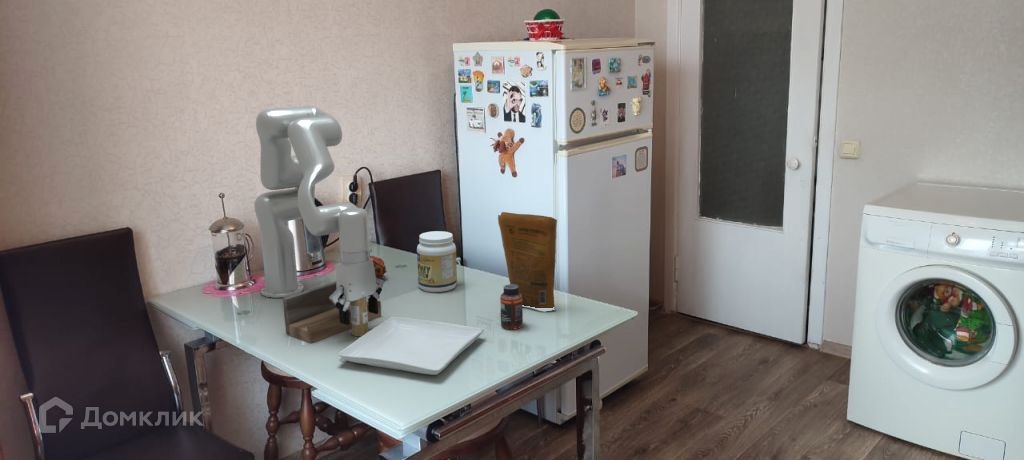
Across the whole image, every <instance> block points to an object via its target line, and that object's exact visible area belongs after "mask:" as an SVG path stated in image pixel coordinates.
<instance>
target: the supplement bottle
mask: <svg viewBox="0 0 1024 460" xmlns="http://www.w3.org/2000/svg"><path fill="white" fill-rule="evenodd" d="M518 291H519V290H518V286H517V285H514V284H510V283H508V284H505V285H504V286H503V292H502V293H501V294H500V297H499V301H500V304H499V305H500V326H501V327H502V328H503V329H505V328H508V329H507V330H515V329H514V328H518V329H520V328H522V326H523V324H524V321H523V320H524V319H523V318H524V317H523V315H524V314H523V307H522V295H521V294H520V293H519V292H518ZM519 327H520V328H519Z"/></svg>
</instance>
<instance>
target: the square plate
mask: <svg viewBox="0 0 1024 460" xmlns="http://www.w3.org/2000/svg"><path fill="white" fill-rule="evenodd" d="M484 331H485V330H484V328H481V327H480V328H479V327H475V326H468V325H467V326H466V325H461V324H456V323H455V324H454V323H448V322H442V321H435V320H427V319H419V318H413V317H412V318H410V317H400V316H390V317H389V318H387V319H385V320H384V321H383V322H381V323H380V324H378V325H376V326H375V327H373V328H372V329H371V330H369V332H367V333H366V334H365V335H363V336H359V338H358V339H356V340H355V341H353V342H352V343H350V344H349V345H348V346H347V347H345V348H344V349H342V350H341V351H340V352H338V353H337V356H338V357H340V358H342V359H343V360H345V361H347V362H351V363H356V364H361V365H367V366H371V367H377V368H383V369H389V370H396V371H403V372H409V373H414V374H423V375H431V376H435V375H436V376H437V375H439V374H440V373H441V372H442V371H443V370H444V369H446V368H447V367H448V366H449V364H450V363H452V362H453V361H454V360H455V359H456V358H457V357H458V356H459V355H460V354H461V353H462V352H464V351H465V350H466V349H467V348H468V347H470V346H472V344H473V343H474V342H475V341H476V340H477V339H478V338H479V337H481V336H480V335H482V334H483V332H484Z"/></svg>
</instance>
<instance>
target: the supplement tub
mask: <svg viewBox="0 0 1024 460" xmlns="http://www.w3.org/2000/svg"><path fill="white" fill-rule="evenodd" d="M418 241H419V244H417V247H416V257H417V259H416V260H417V283H418V287H419V288H420V290H423V291H425V292H428V293H429V292H430V293H443V292H444V293H445V292H448V291H451V290H454V289H455V287H456V286H457V284H458V279H457V278H458V275H457V274H458V272H457V270H458V269H457V247H456V244H455V243H454V242H453V241H454V235H453V233H451V232H449V231H441V230H440V231H439V230H435V231H427V232H422V233H421V234H419V239H418Z"/></svg>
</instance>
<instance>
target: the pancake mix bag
mask: <svg viewBox="0 0 1024 460" xmlns="http://www.w3.org/2000/svg"><path fill="white" fill-rule="evenodd" d="M497 221H498V223H497V224H498V226H499V232H500V236H501V244H502V248H503V251H504V258H505V263H506V268H507V276H508V280H509V281H508V282H509V284H514V285H517V286H518V290H519V291H518V292H519V293H520V294H521V295H522V305H524V306H530V307H535V308H553V307H555V294H554V293H555V292H554V290H555V272H556V270H555V269H556V264H557V263H556V258H557V256H556V253H557V227H558V226H557V225H558V224H557V223H558V219H556V218H554V217H552V216H546V215H539V214H529V213H527V214H526V213H514V212H507V211H501V214H497ZM555 308H556V307H555Z"/></svg>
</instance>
